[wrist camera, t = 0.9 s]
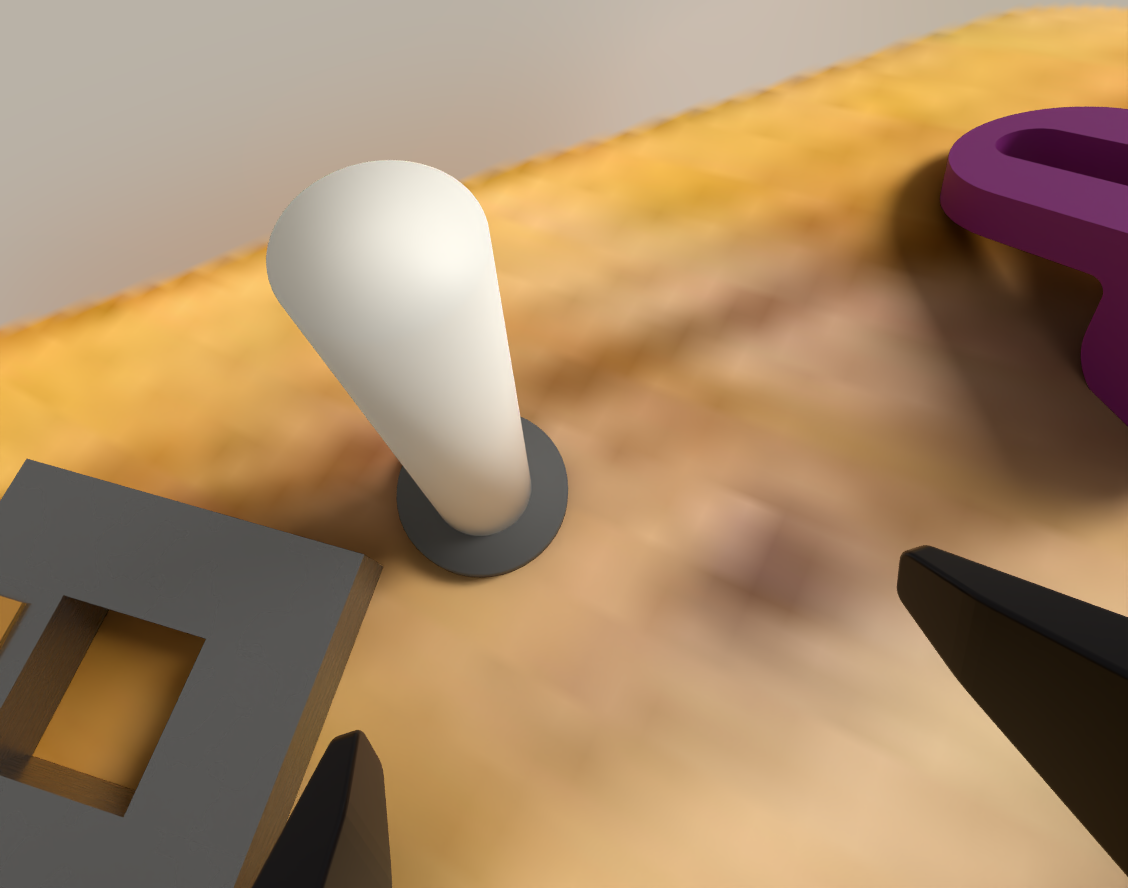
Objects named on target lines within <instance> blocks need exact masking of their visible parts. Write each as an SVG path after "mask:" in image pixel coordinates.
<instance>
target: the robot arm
mask: <svg viewBox="0 0 1128 888" xmlns="http://www.w3.org/2000/svg"><path fill="white" fill-rule="evenodd" d="M897 592H898V595H899V598H900V600H901V602H902V603H903V605H904V606H905V607H906V609H907V610H908V612H909V613H910V614H911V616H912V617H913V619H914V620H915V621H916V623H917V624H918V626H919V627H920V628H921V630H922V631H923V633H924V634H925V635H926V637H927V638H928V640H929V641H930V642H931V644H932V645H933V647H934V648H935V650H936V651H937V652H938V654H939V655H940V657H941V658H942V659H943V661H944V662H945V664H946V665H947V666H948V668H949V669H950V670H951V672H952V673H953V674H954V676H955V677H956V678H957V680H958V681H959V682H960V683H961V685H962V686H963V687H964V688H965V689H966V691H967V692H968V693H969V694H970V695H971V697H972V698H973V699H974V700H975V701H976V702H977V703H978V705H979V706H980V707H981V708H982V709H983V710H984V712H985V713H986V714H987V715H988V716H989V717H990V718H991V720H992V721H993V722H994V723H995V724H996V725H997V727H998V728H999V729H1000V730H1001V731H1002V732H1003V733H1004V735H1005V736H1006V737H1007V738H1008V739H1009V740H1010V742H1011V743H1012V744H1013V745H1014V746H1015V747H1016V748H1017V750H1018V751H1019V752H1020V753H1021V754H1022V755H1023V757H1024V758H1025V759H1026V760H1027V761H1028V762H1029V763H1030V765H1031V766H1032V767H1033V768H1034V769H1035V770H1036V772H1037V773H1038V774H1039V775H1040V776H1041V777H1042V778H1043V780H1044V781H1045V782H1046V783H1047V784H1048V785H1049V787H1050V788H1051V789H1052V790H1053V791H1054V792H1055V793H1056V795H1057V796H1058V797H1059V798H1060V799H1061V800H1062V802H1063V803H1064V804H1065V805H1066V806H1067V807H1068V808H1069V810H1070V811H1071V812H1072V813H1073V814H1074V815H1075V816H1076V818H1077V819H1078V820H1079V821H1080V822H1081V823H1082V825H1083V826H1084V827H1085V828H1086V829H1087V830H1088V831H1089V833H1090V834H1091V835H1092V836H1093V837H1094V838H1095V840H1096V841H1097V842H1098V843H1099V844H1100V845H1101V846H1102V848H1103V849H1104V850H1105V851H1106V852H1107V853H1108V855H1109V856H1110V857H1111V858H1112V859H1113V860H1114V861H1115V863H1116V864H1117V865H1118V866H1119V867H1120V868H1121V870H1122V871H1123V872H1124V873H1125V874H1126V875H1127V876H1128V617H1125V616H1123V615H1120V614H1117V613H1114V612H1112V611H1109V610H1106V609H1103V608H1101V607H1098V606H1095V605H1092V604H1090V603H1087V602H1084V601H1081V600H1078V599H1076V598H1073V597H1070V596H1067V595H1065V594H1062V593H1059V592H1056V591H1054V590H1051V589H1048V588H1045V587H1043V586H1040V585H1037V584H1034V583H1032V582H1029V581H1026V580H1023V579H1021V578H1018V577H1015V576H1012V575H1009V574H1007V573H1004V572H1001V571H998V570H996V569H993V568H990V567H987V566H985V565H982V564H979V563H976V562H974V561H971V560H968V559H965V558H963V557H960V556H957V555H954V554H952V553H949V552H946V551H943V550H940V549H938V548H935V547H932V546H927V545H923V546H919V547H916V548H913V549H910V550H907V551H905V552H903V553H902V555H901V556H900V562H899V571H898V580H897ZM251 888H392V874H391V860H390V847H389V835H388V823H387V810H386V798H385V786H384V775H383V769H382V765H381V762H380V760H379V758H378V756H377V755H376V753H375V751H374V749H373V748H372V746H371V744H370V742H369V741H368V739H367V737H366V735H365V734H364V733H363V732H362V731H361V730H355V731H352V732H349V733H346V734H343V735H340V736H337V737H335V738H334V739H333V740H332V741H331V742H330V744H329V746H328V747H327V749H326V751H325V753H324V755H323V757H322V758H321V760H320V762H319V764H318V766H317V768H316V770H315V771H314V773H313V775H312V777H311V779H310V781H309V782H308V784H307V786H306V788H305V790H304V792H303V793H302V795H301V797H300V799H299V801H298V803H297V804H296V806H295V808H294V810H293V812H292V814H291V815H290V817H289V819H288V821H287V823H286V825H285V827H284V828H283V830H282V832H281V834H280V836H279V838H278V839H277V841H276V843H275V845H274V847H273V849H272V850H271V852H270V854H269V856H268V858H267V860H266V861H265V863H264V865H263V867H262V869H261V871H260V872H259V874H258V876H257V878H256V880H255V882H254V884H253V885H252V887H251Z"/></svg>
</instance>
